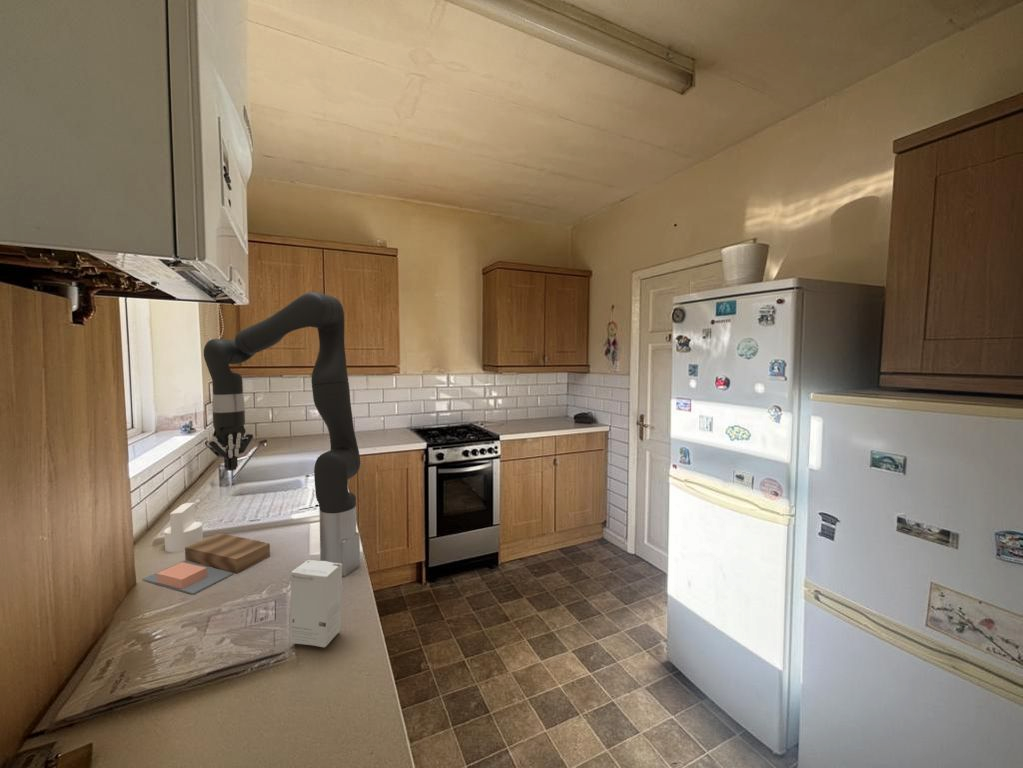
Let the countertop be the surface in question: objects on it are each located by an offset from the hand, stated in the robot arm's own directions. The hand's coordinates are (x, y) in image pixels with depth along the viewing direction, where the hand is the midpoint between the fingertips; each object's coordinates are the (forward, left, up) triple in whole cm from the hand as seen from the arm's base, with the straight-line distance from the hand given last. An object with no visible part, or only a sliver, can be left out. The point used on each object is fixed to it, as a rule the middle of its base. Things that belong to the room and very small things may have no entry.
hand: (231, 469), depth 116 cm
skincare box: (-49, +19, -26) cm, 58 cm away
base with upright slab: (+20, +1, -26) cm, 32 cm away
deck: (0, +2, -25) cm, 25 cm away
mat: (0, +12, -25) cm, 28 cm away
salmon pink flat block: (0, +14, -23) cm, 27 cm away
